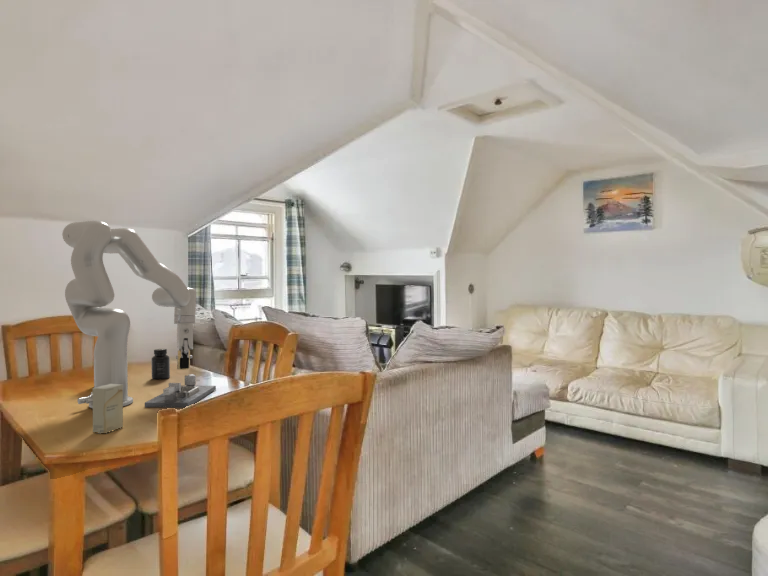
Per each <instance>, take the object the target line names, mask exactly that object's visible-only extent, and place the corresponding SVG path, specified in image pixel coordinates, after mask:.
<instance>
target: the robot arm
mask: <svg viewBox="0 0 768 576" xmlns="http://www.w3.org/2000/svg"><path fill="white" fill-rule="evenodd" d="M61 235H62V239H63V241H64V243H65V244H66V245H68V246H69V247H71V248H73V250H72V252H71V256H70V265H71V268H72V272H73V275H74V277H75V278H73V279H72V280H70V281H69V282H67V284H66V286H65V290H64V297H65V301H66V303H67V306H68V308H69V311H70V312H71V316H72V317H73V320H74V322H75V324H76V326H77V328H78V330H79V331H80V332H81V333H83V334H85V335H87V336H92V337H97V338H96V341H95V344H94V349H93V388H96V387H100V386H104V385H108V384H122V385H123V407H125V406H128V405H130V404H132V403H133V402H134V397H132V396H129V395H128V394H129V393H128V392H129V391H128V390H129V388H128V387H129V385H128V377H129V376H128V374H129V373H128V339H129V335H130V334H129V333H130V328H131V319H130V317H129V315H128V314H127V313H126V312H125V311H124V310H122V309H119V308H116V307H115V308H113V307H106V306H108V305H110V304H111V303H113V301H114V298H115V291H114V288H113V284H112V282H111V280H110V277H109V275H108V272H107V270H106V267H105V265H104V259H103V258H104V257H103V256H104V254H119V256H120V257H121V258H122V260H123V261H124V262H125V264H126V265H127V266H128V267H129V268H130V269H131V270H132V272H133V273H134V274H135V275H136V276H138V277H140V278H141V279H144V280H146V281H149V282H152V283H153V284H156V285H157V286H159V287H157V288H156V289H154V290H153V292H152V294H151V301H152V302H153V303H154V304H155V305H157V306H159V307H163V308H174V313H173V314H174V316H173V317H174V319H173V324H175V325H177V327H176V331H177V332H176V345H177V349H178V350H181V358H180V369H184V368H189V350H190V351H191V350H193V349H194V328H193V326H194V324H196V313H197V312H196V308H197V305H196V304H197V291H196V289H195V288H193V287H187V285H186V284H185V282H184V281H183V280H182V279H181V278H180V276H179V275H178V274H177V273H175V272H174V271H173V270H171V268H168V266H166V265H164V264H163V263H161V262H160V261H158V260H157V258H156V257H155V256H154V254H153V253H152V252H151V250H150V249H149V247H148V246H147V245H146V243H145V242H144V241H143V239H142V238H141V237H140V235H139V234H138V232H136V231H135V230H134V229H131V228H126V227H125V228H123V227H122V228H121V227H120V228H111V227H110V225H109V224H108V223H106V222H104V221H101V220H86V221H85V220H83V221H75V222H70V223H69V224H67V225H65V226H64V228H63V230H62V234H61ZM77 404H78V405H81V404H83V405H84V404H87V405H88V407H89V408H90V409H93V391H91V392H90V394H89V395H88V396H82V397H79V398H77Z"/></svg>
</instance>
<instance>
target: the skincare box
mask: <svg viewBox="0 0 768 576" xmlns="http://www.w3.org/2000/svg"><path fill="white" fill-rule="evenodd" d="M92 392H93V408H92V433H93V432H98V433H97V434H101V433H106V434H108V433H107V432H109V431H112V430H115V429H118V428H120V429H122V428H121V427H123V428H124V406H123V385H122V384H108V385H104V386H100V387H96V388H94V387H92ZM118 430H119V429H118ZM115 431H116V430H115ZM112 432H113V431H112ZM109 433H110V432H109Z"/></svg>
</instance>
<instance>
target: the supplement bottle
mask: <svg viewBox="0 0 768 576" xmlns="http://www.w3.org/2000/svg"><path fill="white" fill-rule="evenodd" d="M153 355H154V356H152V357H151V363H150V364H151V379H152V380H154V379H161V380H167V379H169V378H170V376H171V374H170V373H171V366H170V364H171V363H170V358H171V357H170V356H169V355H168V349H167V348H156V349H153Z"/></svg>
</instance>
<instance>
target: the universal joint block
mask: <svg viewBox="0 0 768 576" xmlns="http://www.w3.org/2000/svg"><path fill="white" fill-rule="evenodd" d="M175 358H176V360H177V366H176V367H177V368H176V370H190V368H191V367H190V366H191V360H190V359H193V358H194V356H193V355H192V354H191V349H189V368H184V369H180V358H181V350H179V349H178V350H177V355H176V356H175Z"/></svg>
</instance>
